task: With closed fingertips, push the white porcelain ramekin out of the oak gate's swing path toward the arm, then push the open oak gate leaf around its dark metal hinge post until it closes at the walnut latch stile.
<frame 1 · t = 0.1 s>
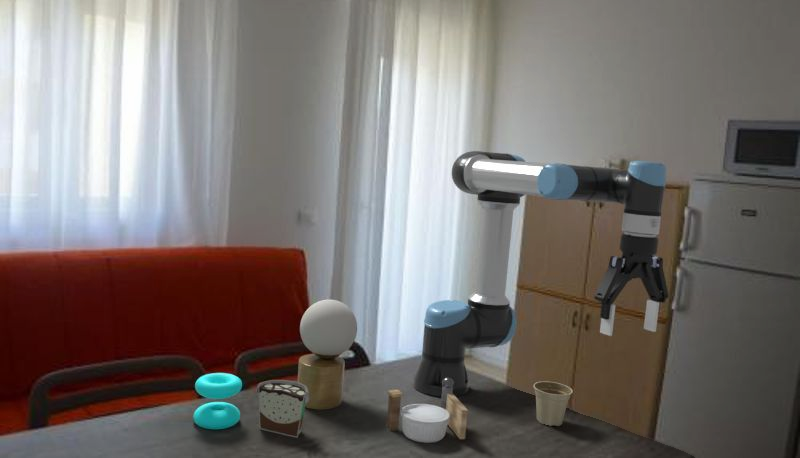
hand: (628, 332, 143), 28 cm above the table, fingers open, 13 cm apart
gate leaf: (455, 415, 152), point 4 cm above the table, hinge at 75.0°
food container: (285, 429, 147), on the table
donuts: (216, 423, 147), on the table
lamp: (322, 399, 166), on the table
flower pot: (549, 422, 163), on the table
latch stile: (392, 428, 151), on the table
ramekin: (423, 435, 150), on the table
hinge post: (444, 420, 159), on the table
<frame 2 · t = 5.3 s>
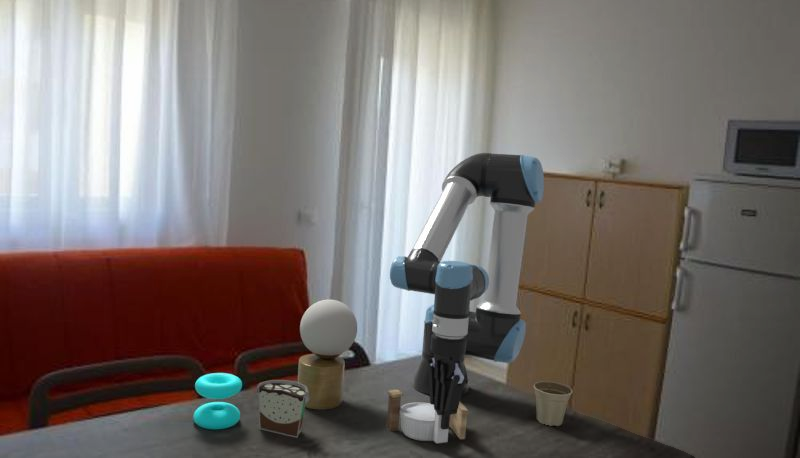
hand: (440, 441, 143), 1 cm above the table, fingers closed
ramekin: (422, 434, 150), on the table, touching gripper, latch stile
everything else where it was.
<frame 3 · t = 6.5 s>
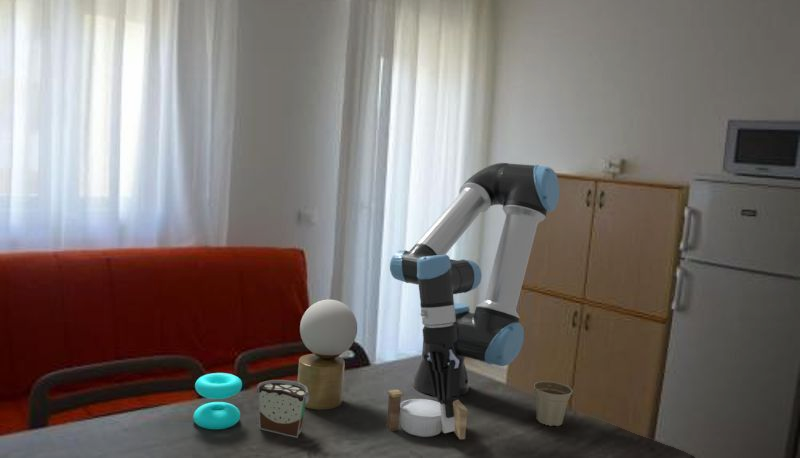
hand: (448, 431, 147), 2 cm above the table, fingers closed
ramekin: (421, 429, 153), on the table, touching gripper, latch stile
everything else where it was.
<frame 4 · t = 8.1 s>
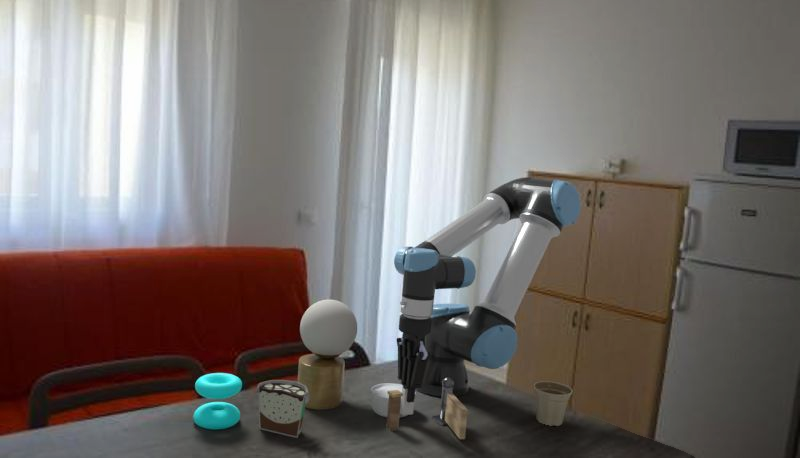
hand: (406, 413, 156), 2 cm above the table, fingers closed
ramekin: (391, 412, 162), on the table, touching gripper
everything else where it was.
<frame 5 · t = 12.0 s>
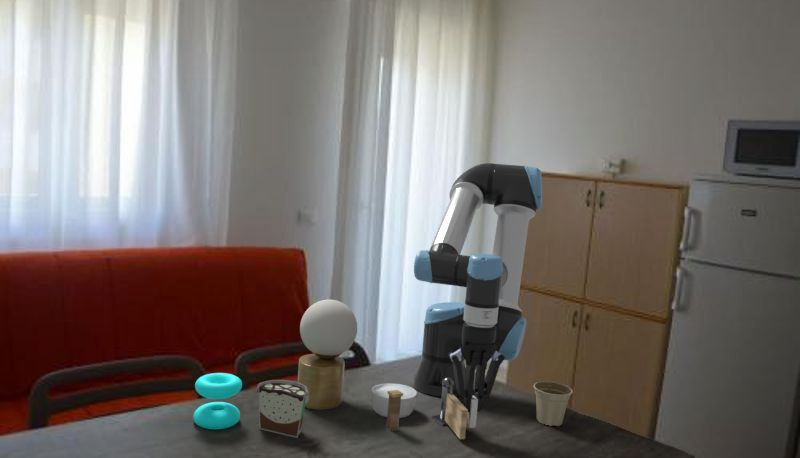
hand: (470, 425, 151), 2 cm above the table, fingers closed
gate leaf: (455, 415, 152), point 4 cm above the table, hinge at 75.0°, touching gripper
ramekin: (392, 412, 162), on the table
everything else where it was.
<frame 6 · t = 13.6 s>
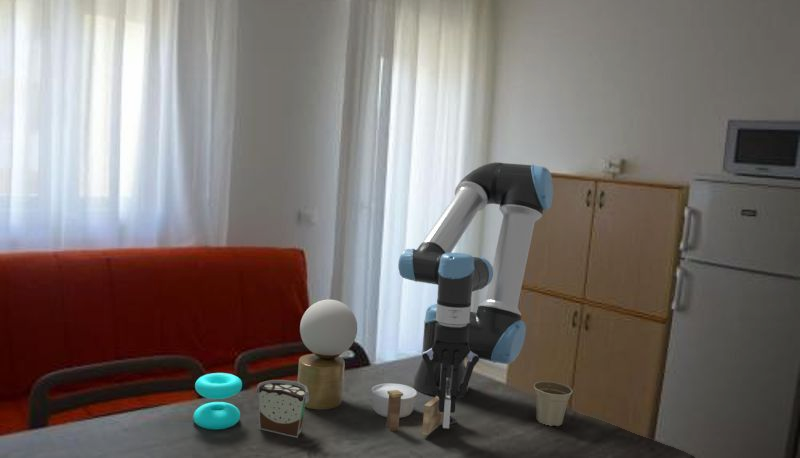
hand: (445, 425, 150), 2 cm above the table, fingers closed
gate leaf: (434, 413, 152), point 4 cm above the table, hinge at 34.3°, touching gripper
everything else where it was.
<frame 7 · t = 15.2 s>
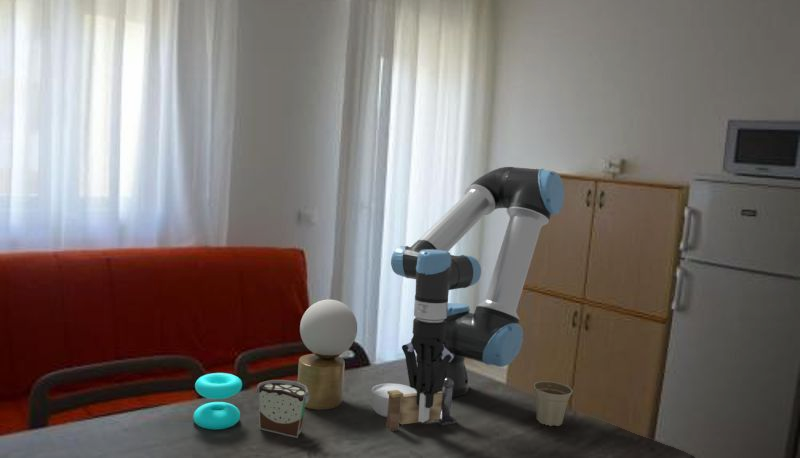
hand: (423, 420, 152), 2 cm above the table, fingers closed
gate leaf: (420, 407, 155), point 4 cm above the table, hinge at -1.6°, touching gripper
everything else where it was.
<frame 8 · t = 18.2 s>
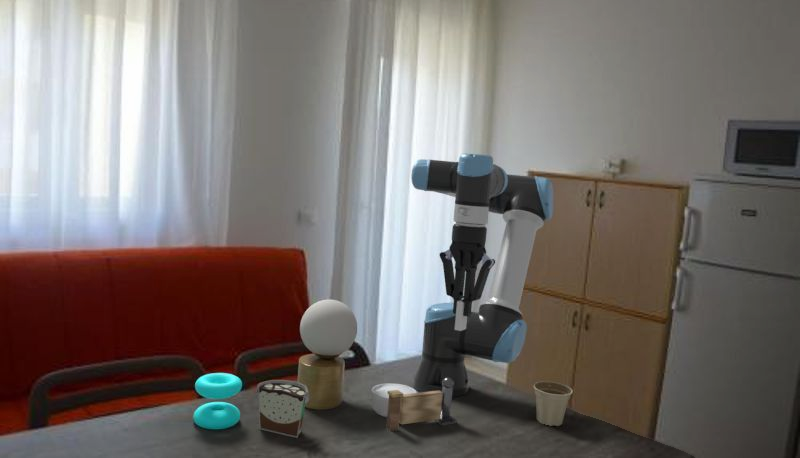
hand: (460, 329, 149), 24 cm above the table, fingers closed
gate leaf: (420, 407, 155), point 4 cm above the table, hinge at -1.7°
everything else where it was.
at the end: gate leaf at -2° (first picture: +75°); ramekin inside the target area (2.7 cm from its centre), on the table; ramekin tilted 0° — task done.
